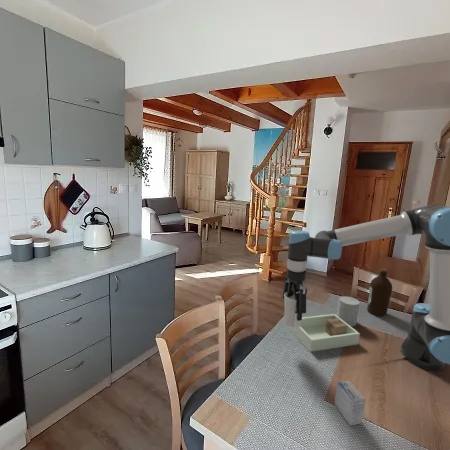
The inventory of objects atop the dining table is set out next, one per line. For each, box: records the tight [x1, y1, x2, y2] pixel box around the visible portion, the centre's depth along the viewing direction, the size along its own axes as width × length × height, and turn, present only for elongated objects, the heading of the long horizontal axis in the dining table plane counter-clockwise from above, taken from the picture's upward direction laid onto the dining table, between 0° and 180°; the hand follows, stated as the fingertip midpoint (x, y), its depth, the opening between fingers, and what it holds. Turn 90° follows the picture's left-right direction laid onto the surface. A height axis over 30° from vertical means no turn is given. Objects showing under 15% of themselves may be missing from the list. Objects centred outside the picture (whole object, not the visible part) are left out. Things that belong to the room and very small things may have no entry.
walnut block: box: [325, 319, 347, 336], centre depth 126 cm, size 6×6×6 cm
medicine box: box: [333, 380, 367, 426], centre depth 85 cm, size 8×4×9 cm, turn 12°
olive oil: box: [366, 268, 393, 317], centre depth 149 cm, size 11×11×25 cm
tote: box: [289, 313, 361, 353], centre depth 125 cm, size 17×24×6 cm
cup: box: [283, 292, 298, 327], centre depth 114 cm, size 8×8×12 cm
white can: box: [336, 295, 361, 328], centre depth 138 cm, size 10×10×12 cm
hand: (292, 321), depth 115 cm, fingers closed on cup, 7 cm apart
